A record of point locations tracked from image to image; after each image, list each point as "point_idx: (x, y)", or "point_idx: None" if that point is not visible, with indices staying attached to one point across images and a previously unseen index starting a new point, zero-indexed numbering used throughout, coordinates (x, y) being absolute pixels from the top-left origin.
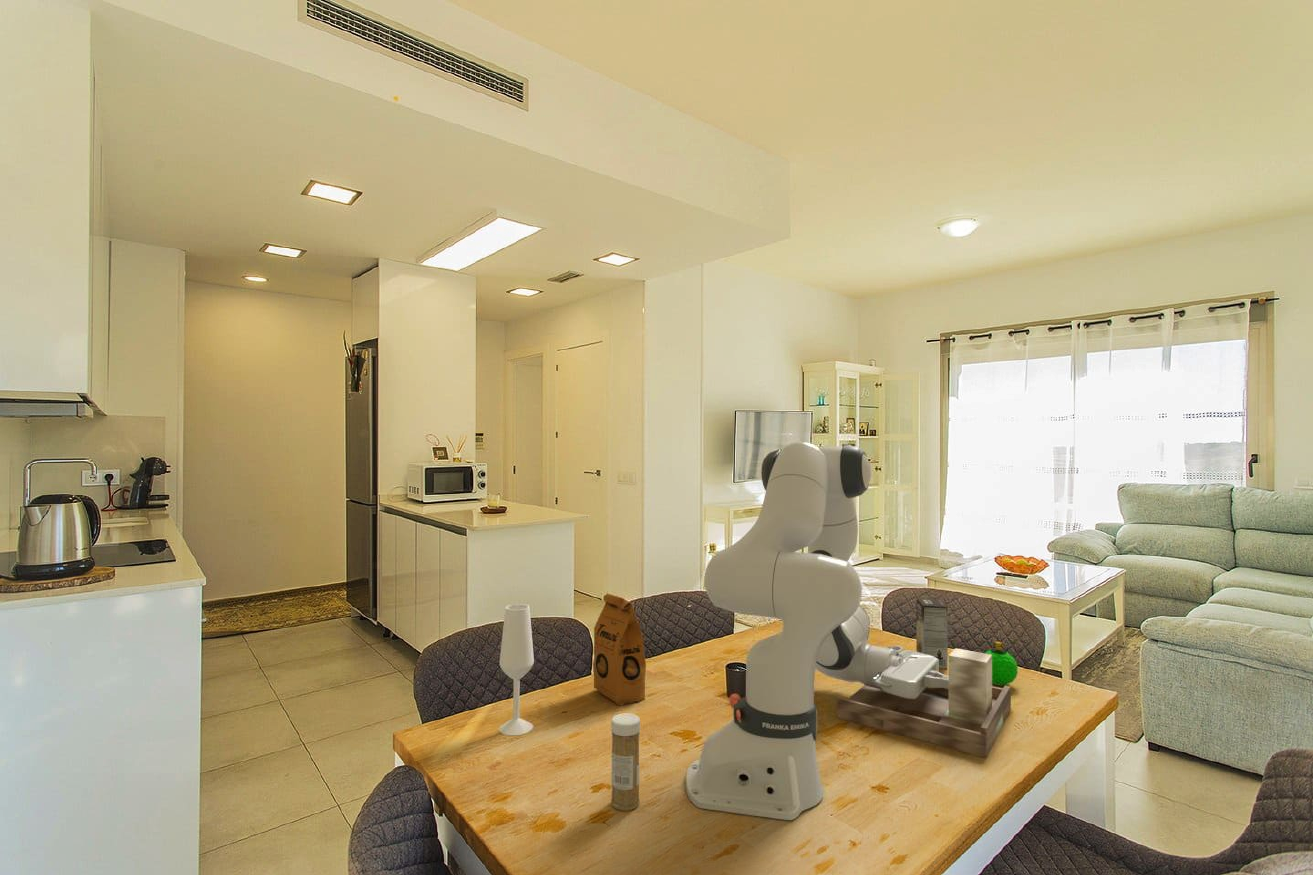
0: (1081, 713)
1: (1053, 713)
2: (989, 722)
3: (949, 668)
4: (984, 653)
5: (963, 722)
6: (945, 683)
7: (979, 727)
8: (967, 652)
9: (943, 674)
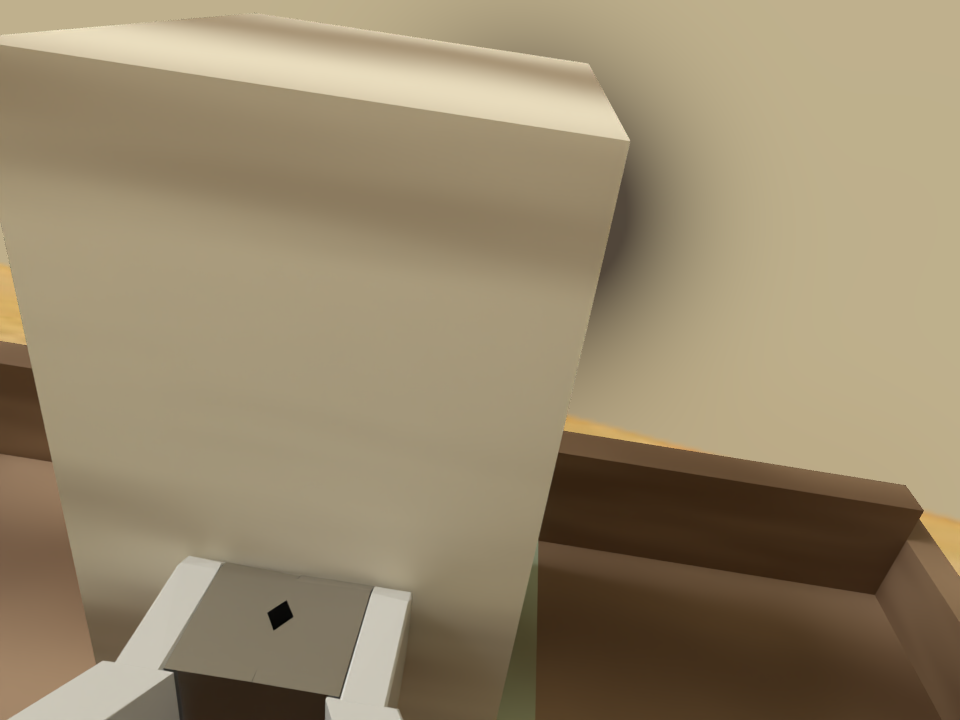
0: (7, 283)
1: (17, 342)
2: (780, 468)
3: (569, 389)
4: (225, 17)
5: (594, 700)
6: (399, 674)
7: (607, 596)
8: (244, 45)
9: (90, 671)
